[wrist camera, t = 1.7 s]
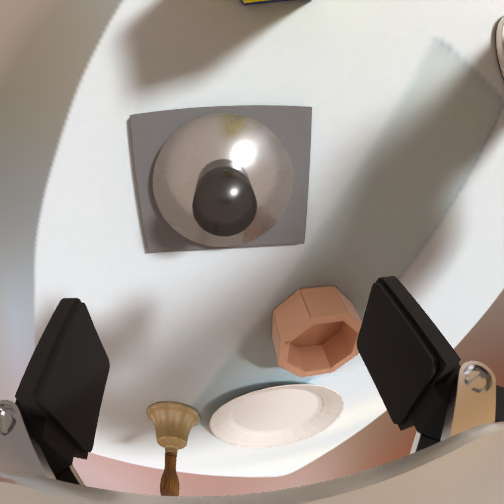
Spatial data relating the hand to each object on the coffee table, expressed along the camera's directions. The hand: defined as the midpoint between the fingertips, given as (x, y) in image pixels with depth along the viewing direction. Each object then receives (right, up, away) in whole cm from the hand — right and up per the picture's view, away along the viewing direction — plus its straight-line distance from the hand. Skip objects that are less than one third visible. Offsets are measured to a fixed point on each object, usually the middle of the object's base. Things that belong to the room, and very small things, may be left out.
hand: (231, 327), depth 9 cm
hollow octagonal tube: (+7, -5, +24) cm, 25 cm away
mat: (-2, +8, +15) cm, 17 cm away
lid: (-2, +8, +14) cm, 16 cm away
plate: (+4, -23, +34) cm, 41 cm away
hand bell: (-11, -23, +31) cm, 40 cm away
